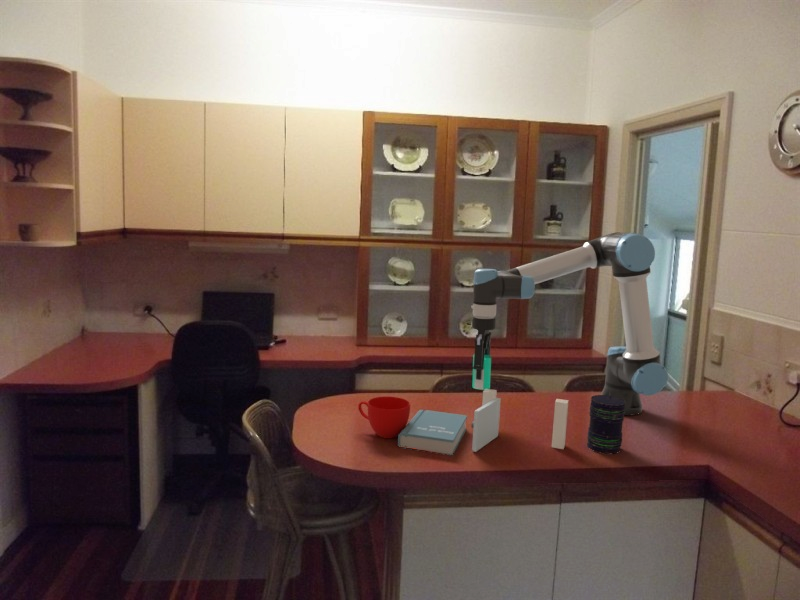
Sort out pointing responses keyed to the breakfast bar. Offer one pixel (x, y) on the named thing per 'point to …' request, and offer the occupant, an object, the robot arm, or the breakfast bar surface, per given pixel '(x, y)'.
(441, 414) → the book
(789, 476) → the breakfast bar surface
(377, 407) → the ceramic cup
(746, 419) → the breakfast bar surface
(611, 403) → the storage jar
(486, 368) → the candle
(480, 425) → the door
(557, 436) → the door frame
